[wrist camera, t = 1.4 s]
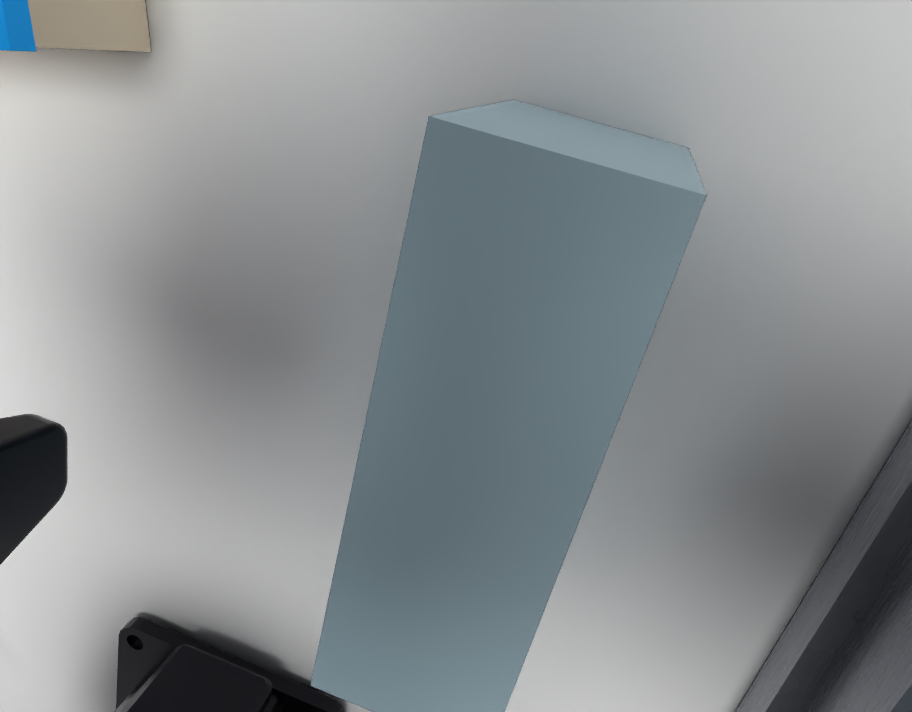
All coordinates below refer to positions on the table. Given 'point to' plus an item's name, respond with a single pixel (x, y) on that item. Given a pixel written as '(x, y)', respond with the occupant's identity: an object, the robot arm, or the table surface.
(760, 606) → the table surface
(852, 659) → the rack
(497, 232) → the panel
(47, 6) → the book
